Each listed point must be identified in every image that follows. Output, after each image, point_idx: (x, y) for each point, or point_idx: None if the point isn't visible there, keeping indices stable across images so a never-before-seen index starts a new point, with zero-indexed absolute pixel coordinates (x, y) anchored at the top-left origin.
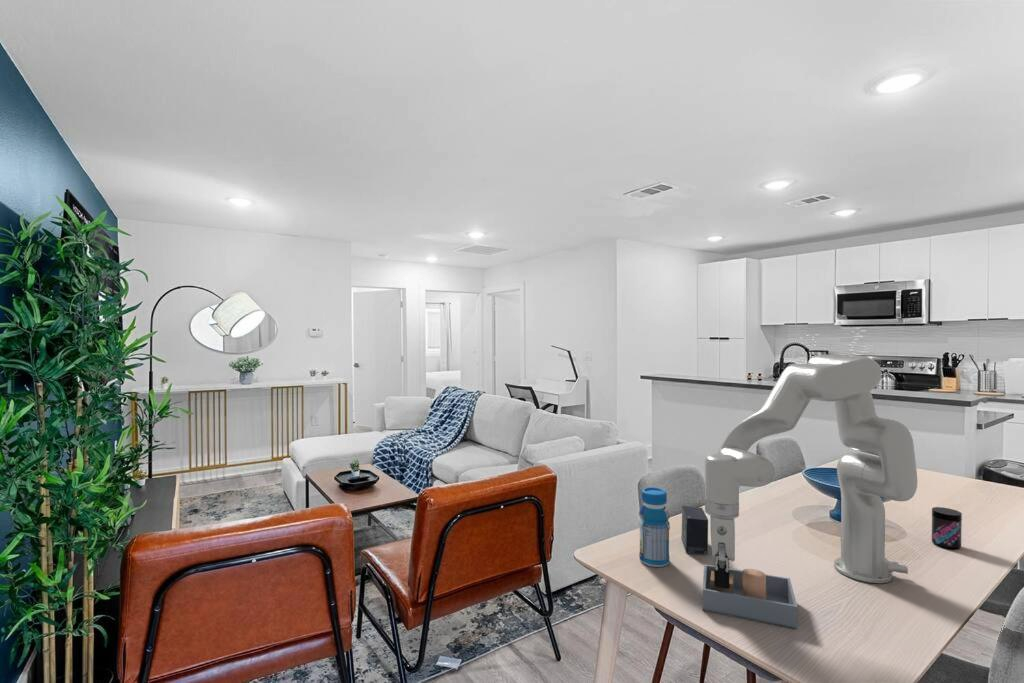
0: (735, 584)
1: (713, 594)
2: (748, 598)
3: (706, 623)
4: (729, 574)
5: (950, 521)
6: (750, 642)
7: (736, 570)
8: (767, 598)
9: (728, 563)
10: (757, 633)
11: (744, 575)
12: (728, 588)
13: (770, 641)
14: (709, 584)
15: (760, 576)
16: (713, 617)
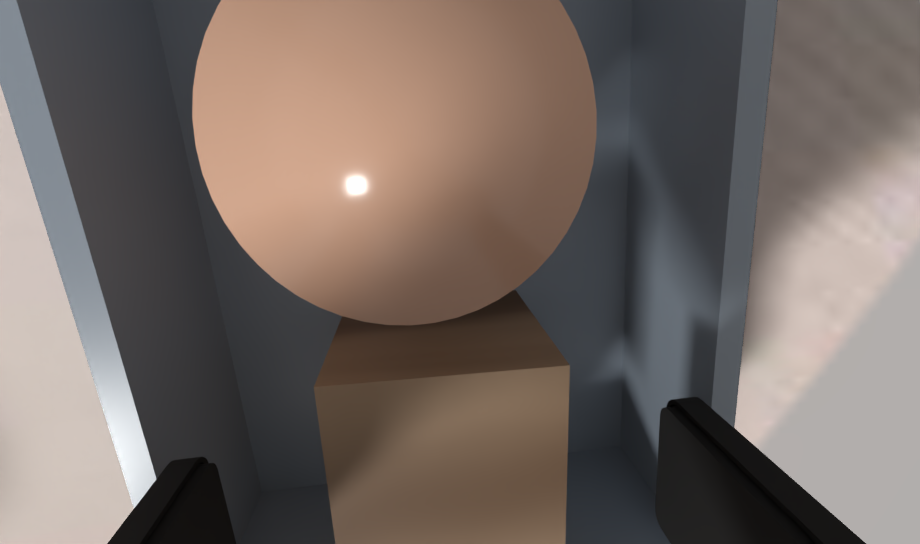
0: (203, 308)
1: None
2: (753, 193)
3: (759, 409)
4: (330, 426)
5: None
6: (896, 156)
7: (116, 360)
8: None
9: (165, 514)
10: (786, 113)
11: (514, 284)
12: (693, 400)
13: (860, 25)
14: (270, 473)
15: (478, 20)
16: None
